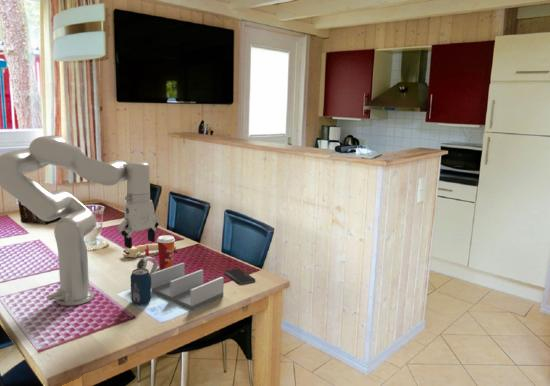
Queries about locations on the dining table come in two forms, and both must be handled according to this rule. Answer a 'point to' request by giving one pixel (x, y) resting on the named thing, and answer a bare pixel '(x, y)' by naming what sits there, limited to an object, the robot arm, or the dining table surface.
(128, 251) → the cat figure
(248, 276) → the phone
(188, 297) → the drying rack
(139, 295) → the soda can
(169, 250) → the paper cup
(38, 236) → the dining table surface
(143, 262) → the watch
